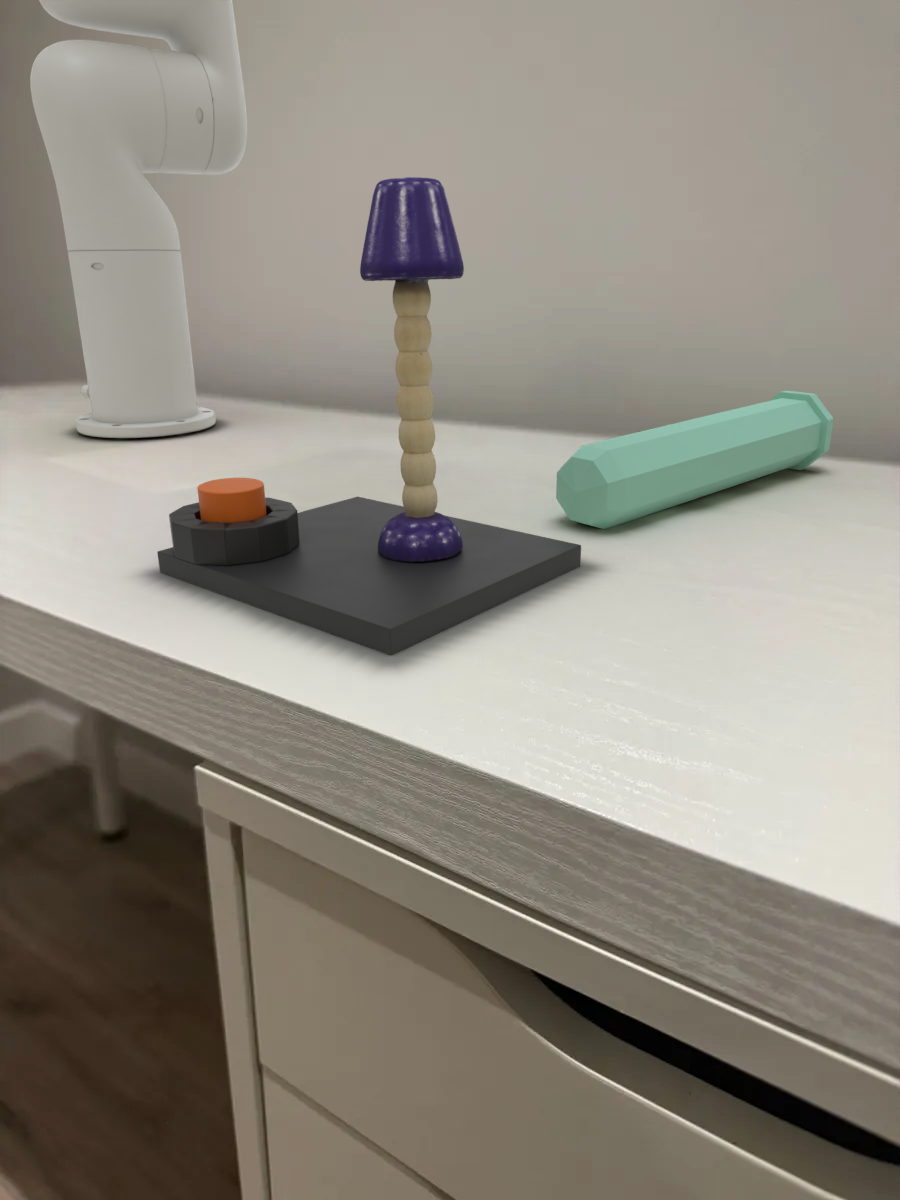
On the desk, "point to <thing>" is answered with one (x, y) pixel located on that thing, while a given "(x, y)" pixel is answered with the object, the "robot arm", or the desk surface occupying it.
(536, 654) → the desk surface
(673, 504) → the container
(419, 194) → the toy lamp
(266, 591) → the scale
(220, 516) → the button
